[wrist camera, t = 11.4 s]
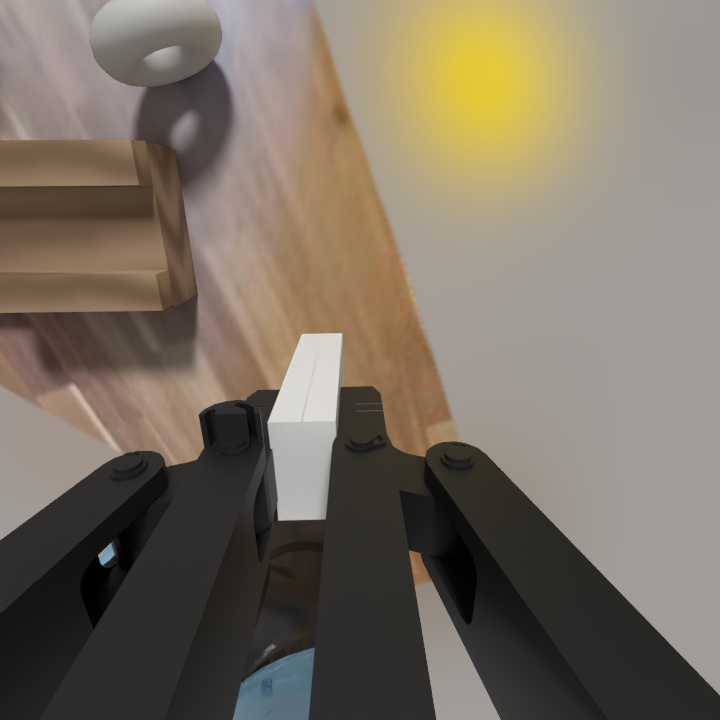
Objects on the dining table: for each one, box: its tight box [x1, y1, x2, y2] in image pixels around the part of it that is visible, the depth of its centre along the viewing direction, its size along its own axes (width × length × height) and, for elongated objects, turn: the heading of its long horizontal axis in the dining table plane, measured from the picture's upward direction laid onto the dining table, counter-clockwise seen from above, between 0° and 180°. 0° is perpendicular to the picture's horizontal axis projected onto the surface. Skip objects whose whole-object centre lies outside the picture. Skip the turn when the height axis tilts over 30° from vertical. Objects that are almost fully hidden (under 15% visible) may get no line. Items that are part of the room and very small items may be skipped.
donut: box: [89, 0, 222, 87], centre depth 31 cm, size 10×3×10 cm, turn 110°
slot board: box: [0, 140, 198, 313], centre depth 37 cm, size 14×17×8 cm
